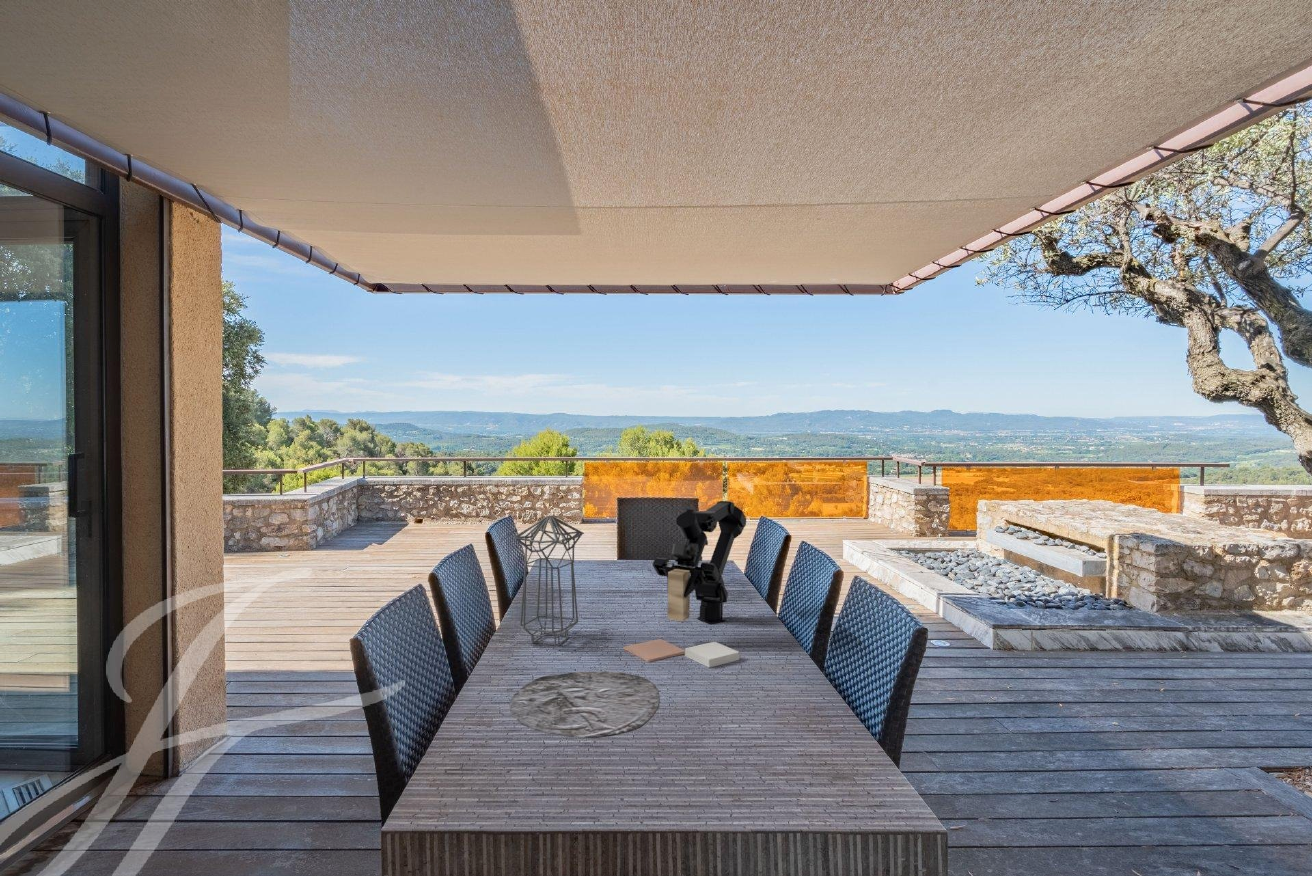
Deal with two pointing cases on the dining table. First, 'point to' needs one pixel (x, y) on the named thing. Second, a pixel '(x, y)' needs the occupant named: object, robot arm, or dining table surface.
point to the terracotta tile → (654, 650)
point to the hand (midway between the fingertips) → (676, 595)
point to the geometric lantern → (540, 527)
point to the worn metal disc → (586, 703)
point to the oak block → (678, 595)
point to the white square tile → (712, 654)
